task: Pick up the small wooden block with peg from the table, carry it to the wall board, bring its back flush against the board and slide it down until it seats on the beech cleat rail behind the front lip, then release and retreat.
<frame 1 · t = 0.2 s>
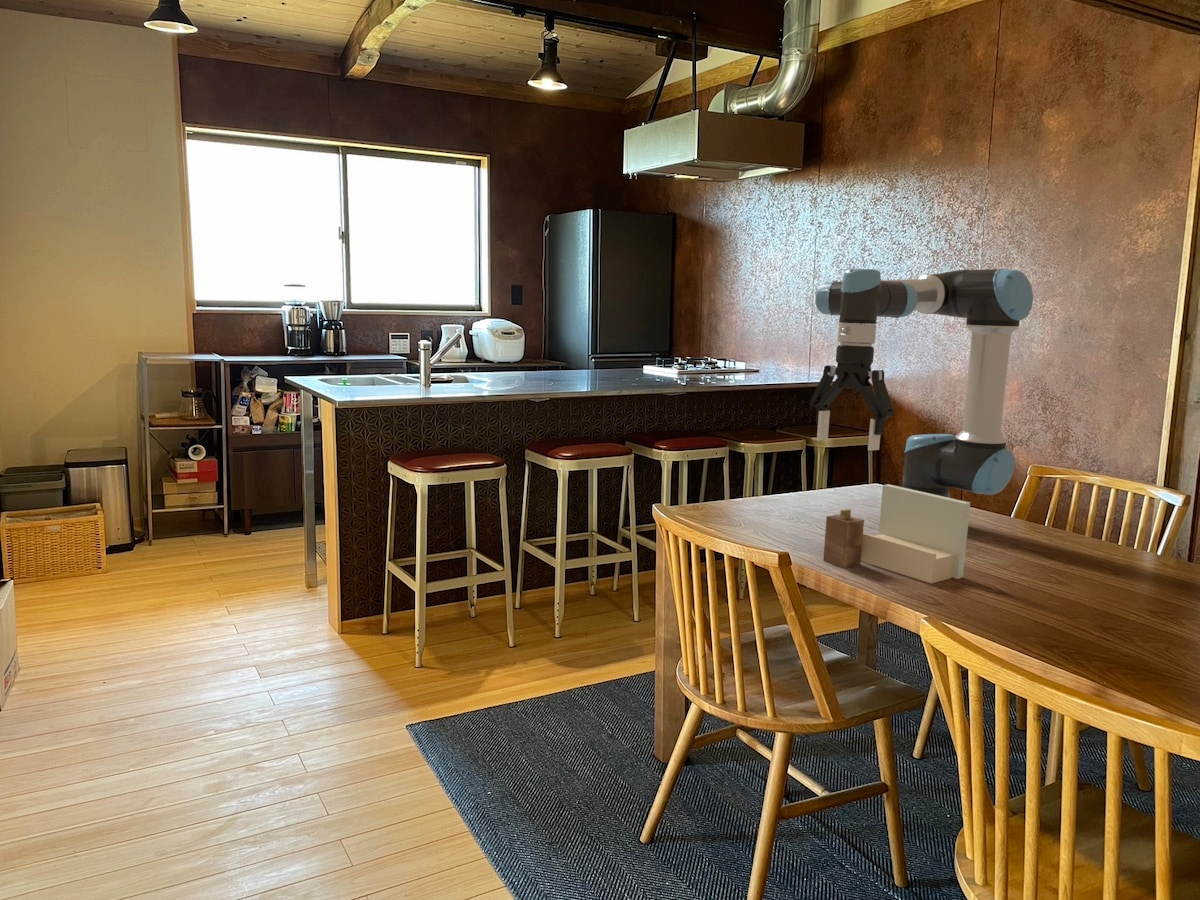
hand: (846, 445, 183), 26 cm above the table, fingers open, 13 cm apart
wooden block with peg: (841, 562, 188), on the table
wall board: (918, 565, 187), on the table
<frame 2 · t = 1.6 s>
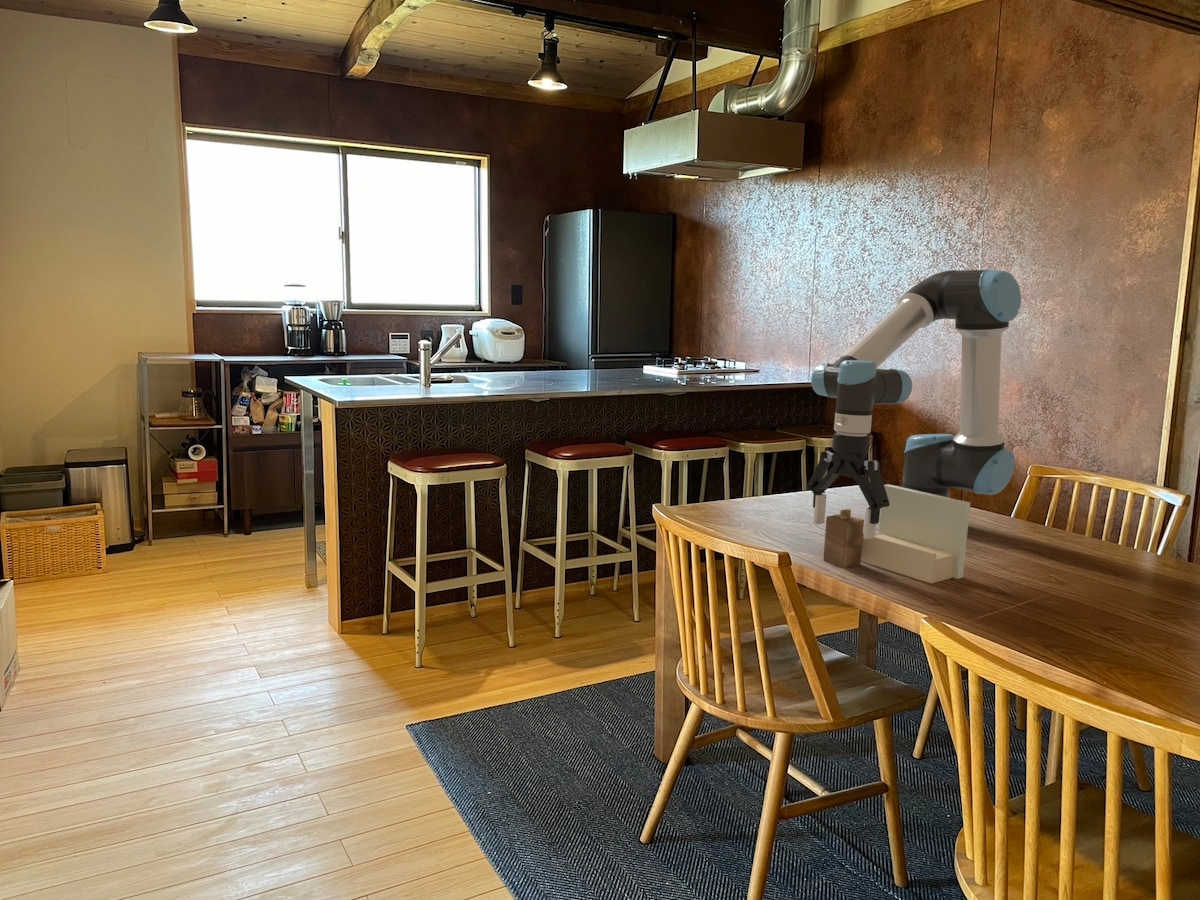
hand: (843, 530, 186), 7 cm above the table, fingers open, 13 cm apart
nothing on the table moved.
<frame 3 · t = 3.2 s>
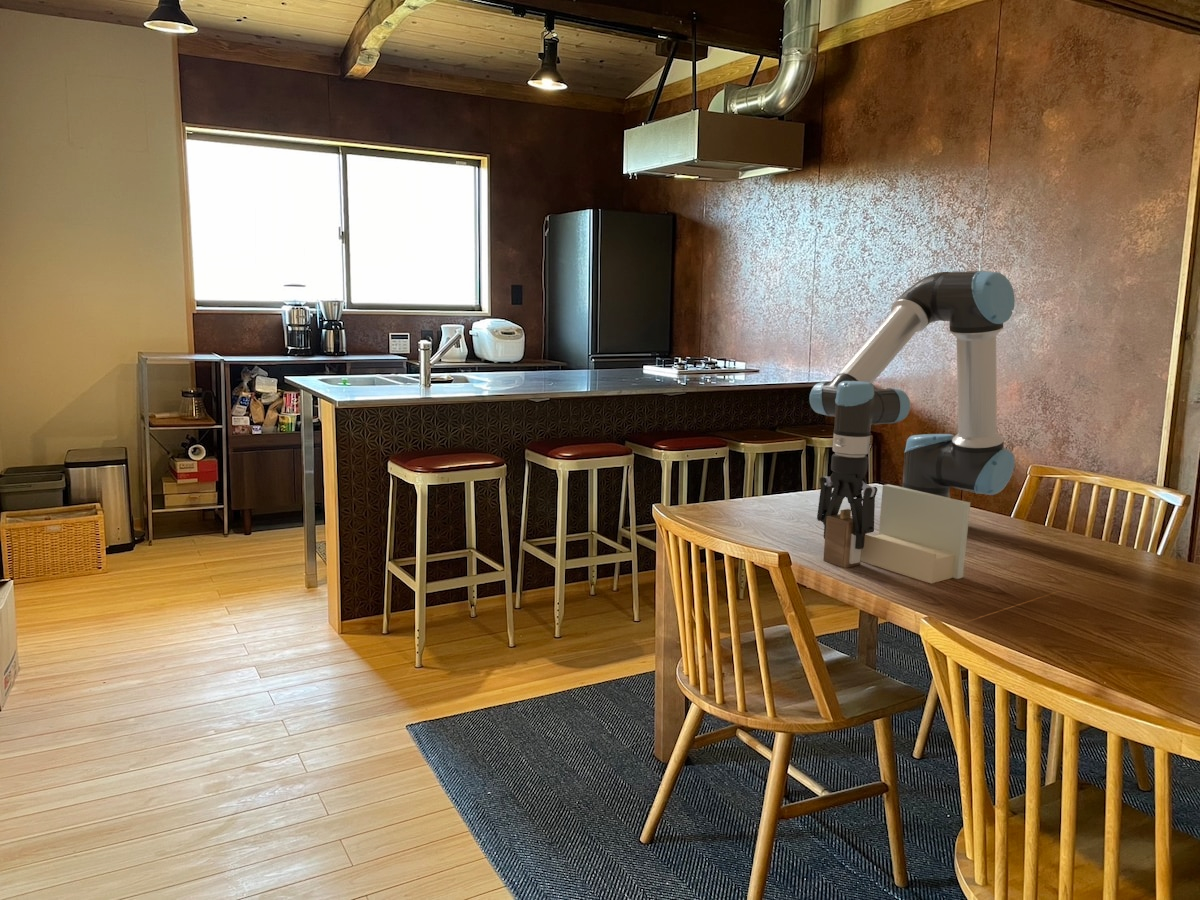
hand: (842, 558, 187), 1 cm above the table, fingers closed on wooden block with peg, 6 cm apart
wooden block with peg: (841, 562, 188), on the table, touching gripper
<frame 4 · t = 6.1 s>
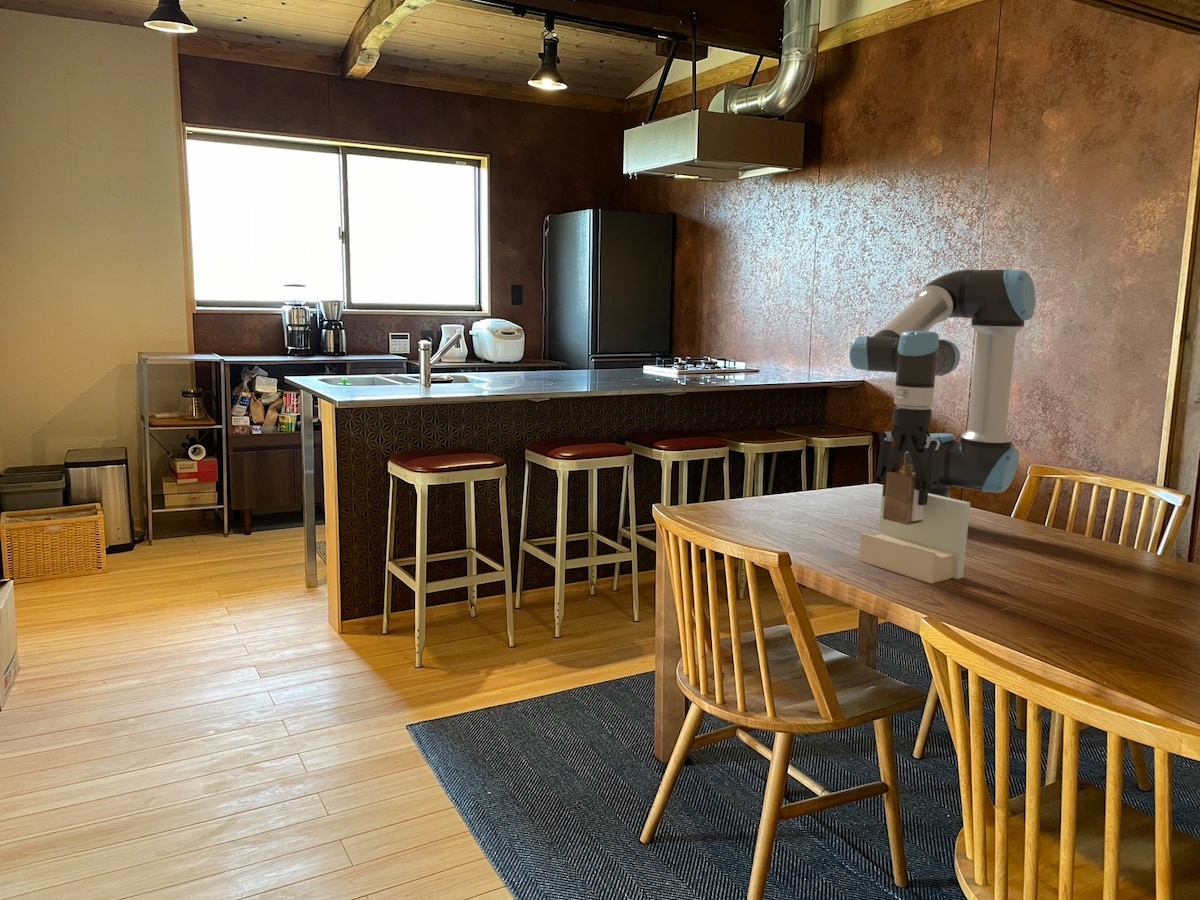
hand: (903, 515, 181), 12 cm above the table, fingers closed on wooden block with peg, 6 cm apart
wooden block with peg: (902, 520, 181), point 11 cm above the table, touching gripper
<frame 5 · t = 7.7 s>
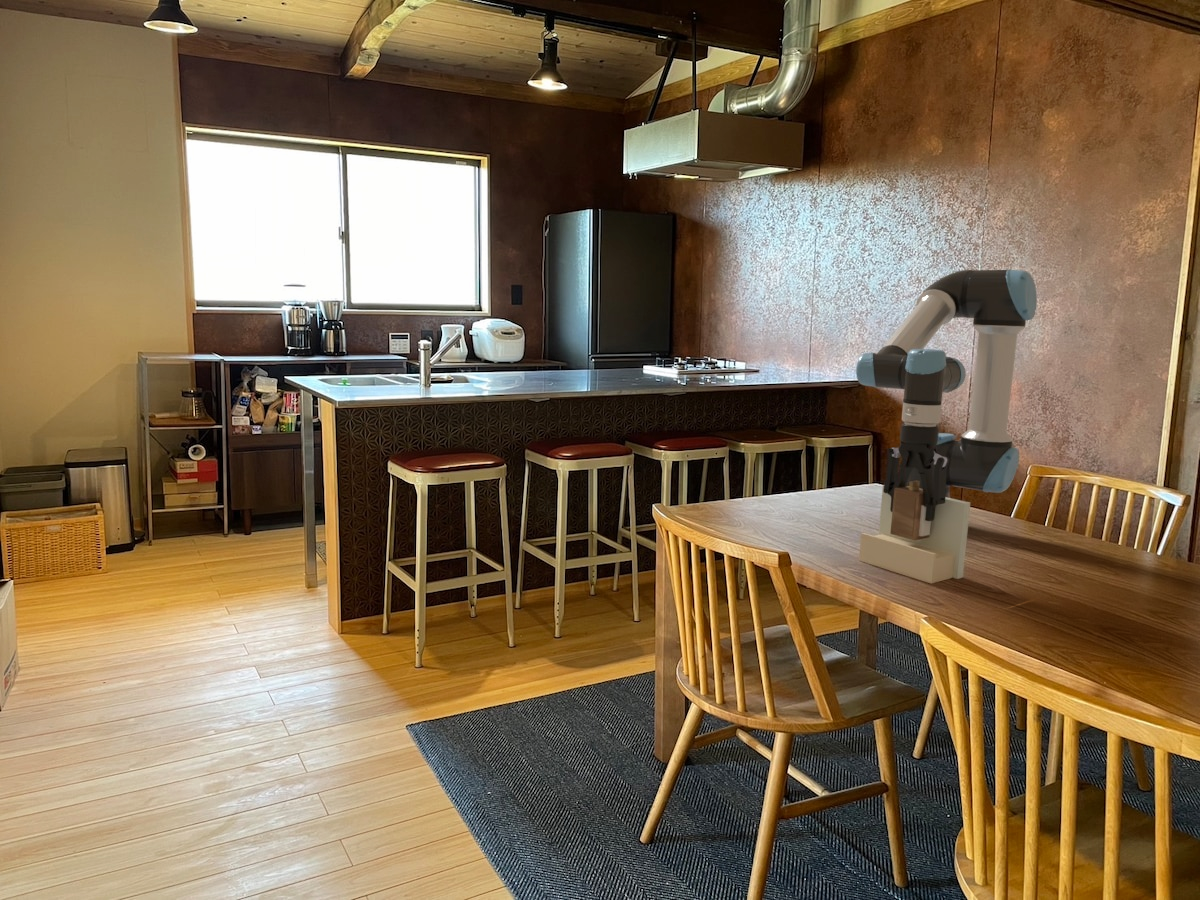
hand: (910, 531, 183), 8 cm above the table, fingers closed on wooden block with peg, 6 cm apart
wooden block with peg: (909, 535, 183), point 7 cm above the table, touching gripper
when the fingers open (7 cm above the table, at t = 9.0 s): wooden block with peg stays where it is, resting on wall board.
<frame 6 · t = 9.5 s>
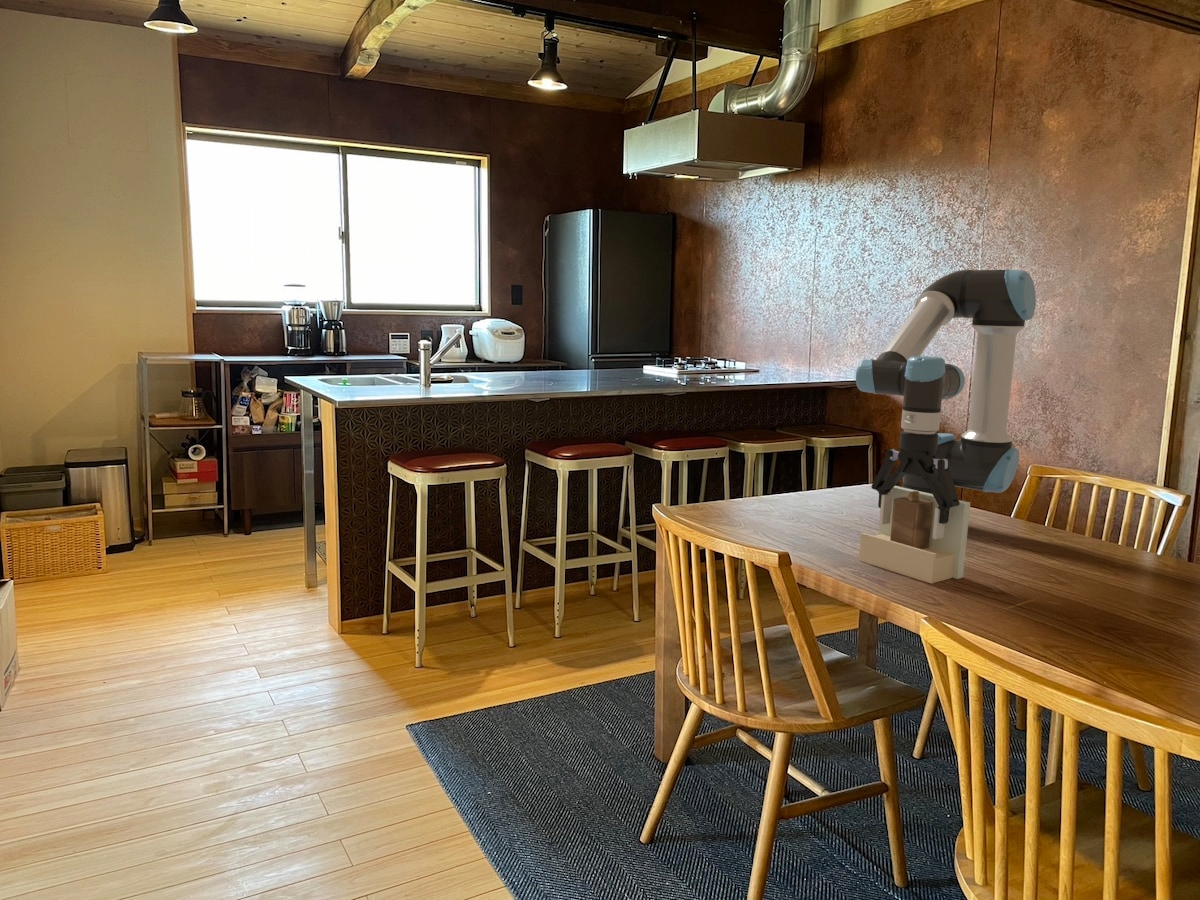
hand: (910, 530, 183), 8 cm above the table, fingers open, 12 cm apart
wooden block with peg: (909, 545, 184), point 5 cm above the table, touching wall board
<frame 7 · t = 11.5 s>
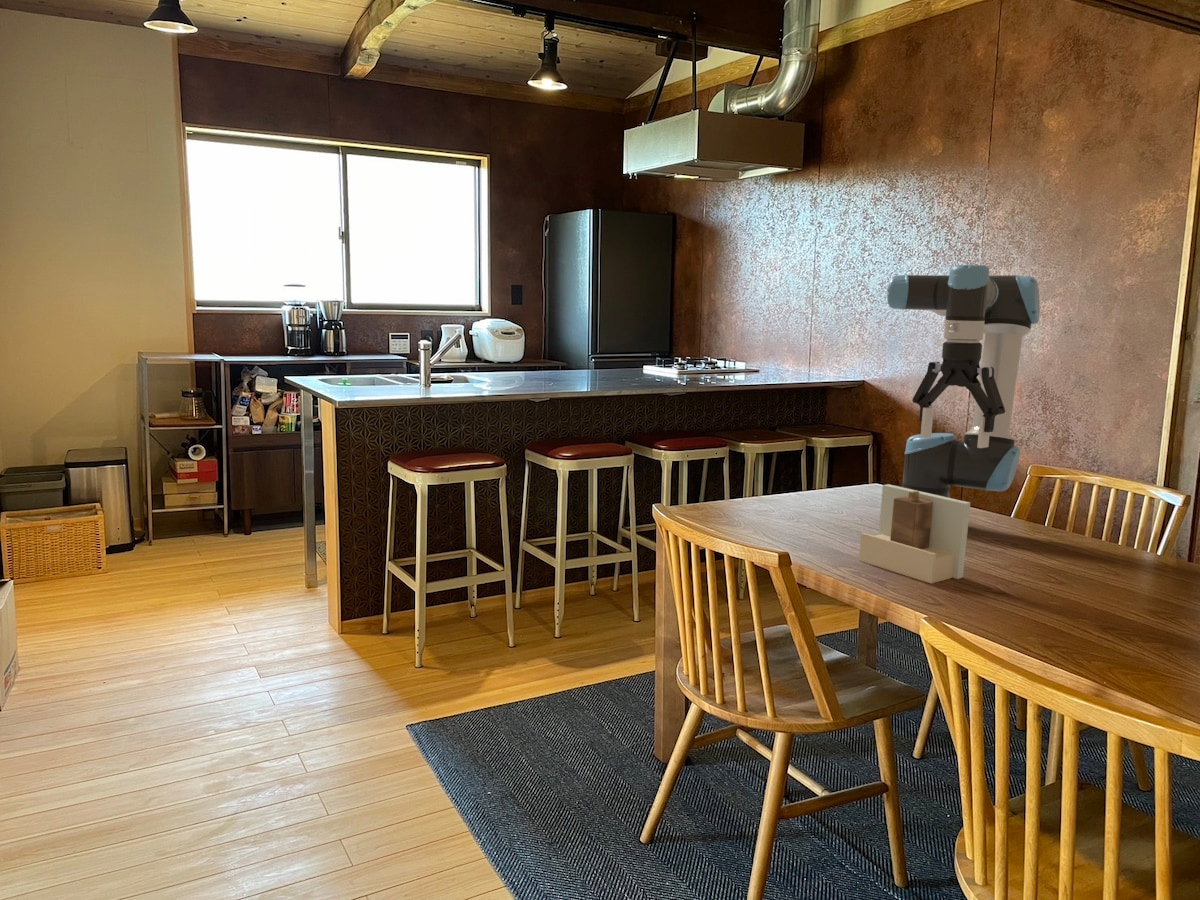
hand: (953, 442, 182), 27 cm above the table, fingers open, 13 cm apart
nothing on the table moved.
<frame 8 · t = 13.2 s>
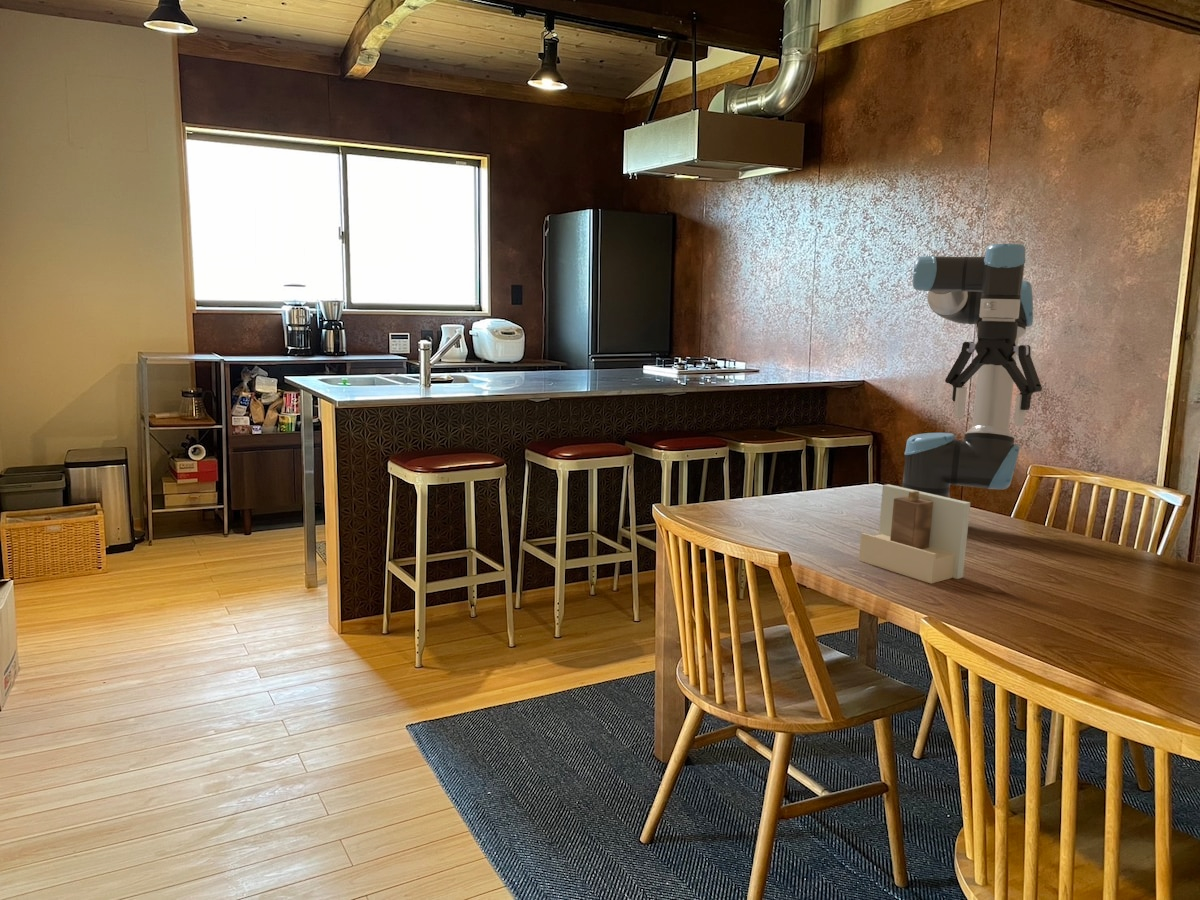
hand: (987, 421, 183), 32 cm above the table, fingers open, 13 cm apart
nothing on the table moved.
at the end: wooden block with peg inside the target area on the wall board (0.1 cm from its centre), point 5.0 cm above the wall board's base; wooden block with peg tilted 0°; the gripper is holding nothing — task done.
